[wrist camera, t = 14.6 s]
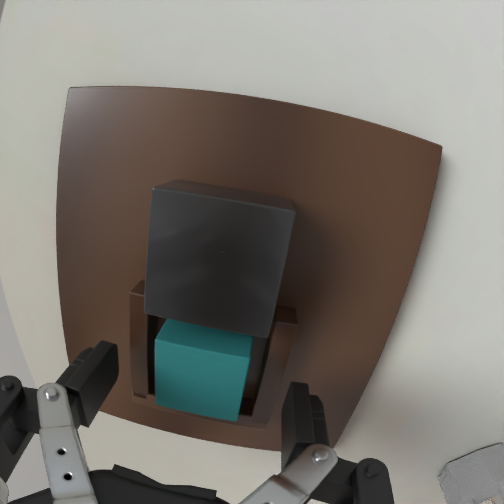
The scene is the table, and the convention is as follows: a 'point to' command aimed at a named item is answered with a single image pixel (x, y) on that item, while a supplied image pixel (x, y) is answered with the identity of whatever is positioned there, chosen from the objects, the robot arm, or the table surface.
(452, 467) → the padlock
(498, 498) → the decorative jar
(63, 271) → the back panel
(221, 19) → the table surface
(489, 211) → the table surface
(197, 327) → the teal pad
